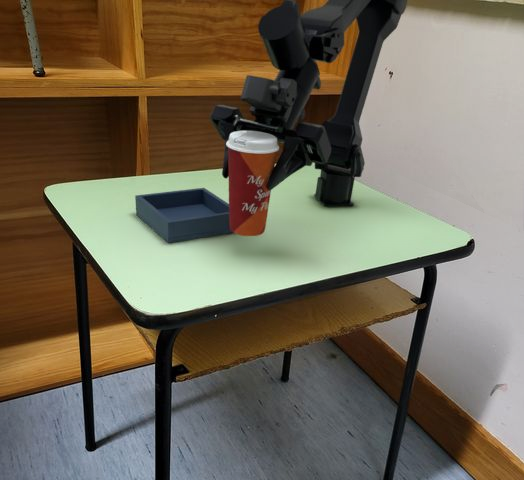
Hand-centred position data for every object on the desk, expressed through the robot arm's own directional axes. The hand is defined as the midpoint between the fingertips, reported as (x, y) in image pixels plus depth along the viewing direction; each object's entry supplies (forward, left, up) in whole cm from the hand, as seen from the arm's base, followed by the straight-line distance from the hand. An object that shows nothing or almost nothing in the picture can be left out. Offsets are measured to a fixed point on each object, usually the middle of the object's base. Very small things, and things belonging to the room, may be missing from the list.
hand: (245, 182), depth 79 cm
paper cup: (-1, -1, -8) cm, 8 cm away
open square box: (+6, -14, -11) cm, 19 cm away
